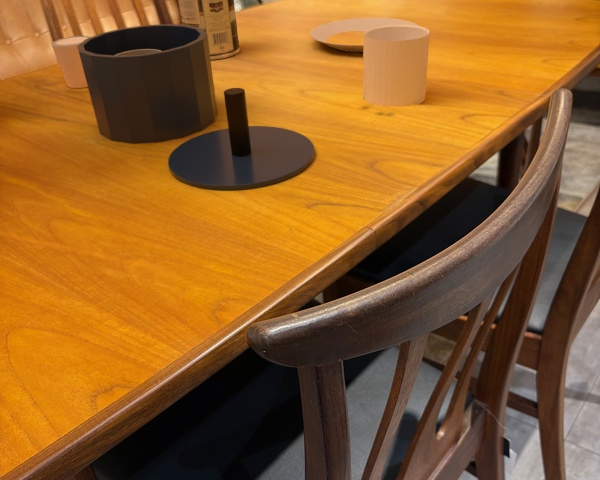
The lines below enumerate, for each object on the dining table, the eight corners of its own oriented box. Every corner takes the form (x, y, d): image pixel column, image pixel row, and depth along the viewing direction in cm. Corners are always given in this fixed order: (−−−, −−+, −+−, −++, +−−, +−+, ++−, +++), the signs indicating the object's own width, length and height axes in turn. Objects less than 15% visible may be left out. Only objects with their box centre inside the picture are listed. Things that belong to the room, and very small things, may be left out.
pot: (75, 139, 84) (50, 52, 78) (146, 100, 96) (130, 22, 90) (175, 153, 78) (158, 60, 72) (238, 110, 90) (228, 27, 84)
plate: (391, 24, 127) (391, 12, 126) (440, 47, 111) (441, 34, 110) (296, 38, 123) (295, 26, 121) (333, 64, 106) (333, 51, 105)
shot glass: (109, 83, 105) (99, 39, 101) (69, 92, 102) (57, 48, 98) (95, 74, 110) (85, 33, 105) (57, 82, 107) (45, 40, 103)
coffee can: (211, 43, 123) (201, -36, 114) (251, 49, 118) (242, -34, 109) (174, 56, 116) (160, -27, 108) (214, 63, 111) (203, -24, 103)
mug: (415, 112, 85) (419, 42, 80) (354, 106, 89) (354, 39, 83) (437, 86, 94) (442, 21, 88) (381, 81, 97) (382, 18, 92)
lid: (140, 182, 72) (123, 109, 67) (217, 128, 85) (208, 63, 80) (275, 205, 66) (268, 126, 60) (336, 142, 78) (335, 73, 73)
